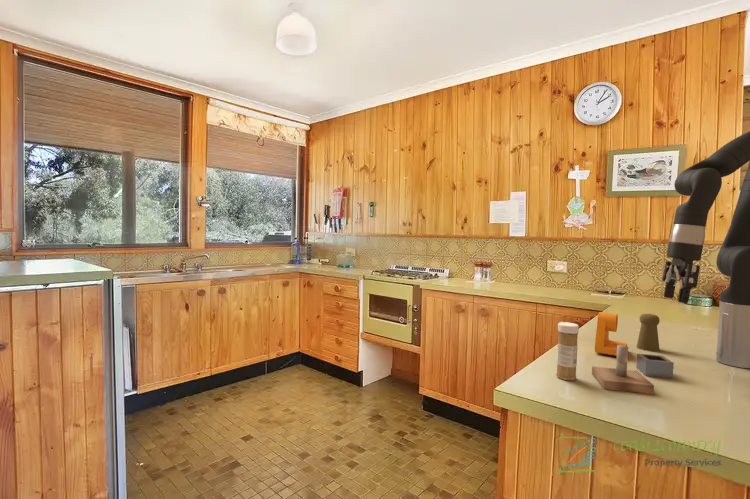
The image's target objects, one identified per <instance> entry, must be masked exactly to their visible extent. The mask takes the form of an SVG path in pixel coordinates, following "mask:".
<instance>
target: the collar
mask: <svg viewBox="0 0 750 499" xmlns="http://www.w3.org/2000/svg"><path fill="white" fill-rule="evenodd" d="M635 367H636V368H637V369H636V370H638V369H639V370H640V371H641V372H642V373H643V374H642V373H641V372H640V371H639V370H638V371H639V372H640V373H641V374H642V375H644V376H645V375H647V376H646V377H651V376H655V377H654V378H661V377H664V378H663V379H672V380H673V378H674V362H673V361H671V360H670V359H669V358H667V357H665V356H663V355H656V354H647V353H636V366H635Z"/></svg>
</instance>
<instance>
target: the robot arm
mask: <svg viewBox="0 0 750 499" xmlns="http://www.w3.org/2000/svg"><path fill="white" fill-rule="evenodd" d="M747 163H748V166H747V169H746V172H745V175H744V178H743V180H742V184H741V188H740V191H739V194H738V199H737V202H736V205H735V208H734V212H733V215H732V219H731V222H730V226H729V228H728V231H727V233H726V236H724V237H725V238H724V240H723V241H722V244H721V246H720V248H719V251H718V253H717V257H716V267H717V269H718V271H719V273H721V274H722V275H724V276H726V277H729V284H728V286H727V288H726V289H724V290H722V291H721V292H720V294H719V305H718V306H719V309H718V322H717V323H718V324H717V343H716V352H715V354H716V358H715V359H716V361H717V362H719V363H721V364H724V365H728V366H731V367H735V368H736V367H737V368H742V369H743V368H744V369H750V130H749V131H748V132H745V133H743V134H741V135H739V136H737V137H735V138H734V139H732V140H730V141H728V142H727V143H726V144H724V145H723V146H721V147H720V148H719V149H718V150H716V151H715V152H713V153H712V154H711V155H710V156H708V157H706V158H704V159H702V160H700V161H698V162H696V163H695V164H693V165H691V166H689V167H688V168H686V169H684V170H683V171H681V172H680V173H679V174H678V176H677V177H676V179H675V181H674V183H673V184H674V189H675V191H676V193H677V194H679V195H682V196H686V197H687V196H688V197H689V198H688V200H687V201H686V202H684V203H681V204H679V205H678V206H677V208H676V210H675V214H674V219H673V225H672V228H671V229H670V230H671V231H670V234H669V239H668V240H669V241H668V245H667V250H666V257H667V258H672V260H671V261H670V260H669V261H668V260H666V261H665V265H664V269H663V275H662V278H661V280H662V282H664V284H665V286H664V292H663V297H664V298H668V299H673V298H674V296H675V295H674V294H675V292H676V285H677V283H679V290H678V295H677V296H678V297H677V302H678V303H683V304H688V303H689V300H690V296H691V290H693V289H696V288H697V287H698V281H699V274H700V270H701V266H700V264H699V265H698V264H694V262H700V261H701V259H702V255H703V249H704V243H705V238H706V228H707V227H706V226H707V222H708V221H707V220H708V216H709V212H710V210H711V208H712V207H713V205H714V203H715V200H716V199H717V197H718V195H719V193H720V191H721V189H722V186H723V179H722V178H725V177H728V176H730V175H732V174H733V173H735V172H736V171H738V170H739V169H740V168H742V167H743V166H744V165H746V164H747Z"/></svg>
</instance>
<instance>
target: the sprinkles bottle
mask: <svg viewBox="0 0 750 499" xmlns="http://www.w3.org/2000/svg"><path fill="white" fill-rule="evenodd" d="M579 329H580V326H579V324H577V323H574V322H573V323H572V322H567V321H566V322H565V321H560V322H559V323H558V324H557V332H558V334H557V337H558V338H557V340H558V341H557V351H556V352H557V353H556V354H557V355H556V373H555V376H556V377H557V378H558V379H561V380H564V381H575V380H576V379H577V367H578V364H577V363H578V335H579V331H580V330H579Z"/></svg>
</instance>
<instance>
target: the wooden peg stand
mask: <svg viewBox="0 0 750 499" xmlns="http://www.w3.org/2000/svg"><path fill="white" fill-rule="evenodd" d="M628 352H629V346H628V345H627V346H624V345H617V356H616V361H615V363H616V364H615V367H614V368H612V367H603V366H602V367H601V366H593V365H592V366H591V375H592V376H593V378H594V379H595V380H596V382H598V384H599V385H600V386H601V387H602V389H604V390H611V391H612V390H613V391H620V392H629V393H637V394H640V393H641V394H647V395H655V389H654V388H655V385H654V384H653V383H652V382H650V381H649V380H648V379H647V378H646V376H645V375H644V376H643V374H642V373H641V372H640V371H639V370H633V369H628V358H629V357H628V356H629V353H628Z"/></svg>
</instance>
